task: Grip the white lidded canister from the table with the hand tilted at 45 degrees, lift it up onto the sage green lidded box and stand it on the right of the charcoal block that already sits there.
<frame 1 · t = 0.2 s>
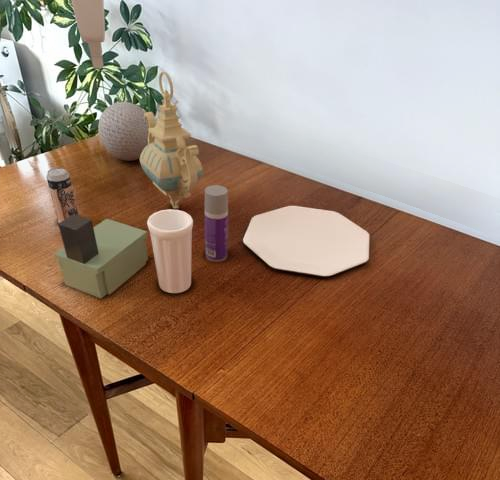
hand: (98, 60, 85), 33 cm above the table, tool pointing down, fingers open, 8 cm apart
sage green lidded box: (108, 271, 93), on the table
plate: (306, 243, 105), on the table
white lidded canister: (69, 222, 107), on the table
container: (216, 256, 100), on the table
decorative ball: (130, 159, 134), on the table
cup: (175, 285, 91), on the table
ornate tan lantern: (174, 209, 114), on the table
block: (83, 255, 85), point 7 cm above the table, touching sage green lidded box
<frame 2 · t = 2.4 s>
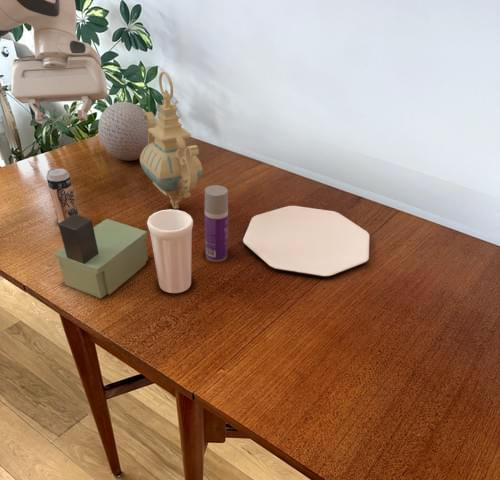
hand: (61, 121, 101), 19 cm above the table, tool tilted 40°, fingers open, 8 cm apart
nothing on the table moved.
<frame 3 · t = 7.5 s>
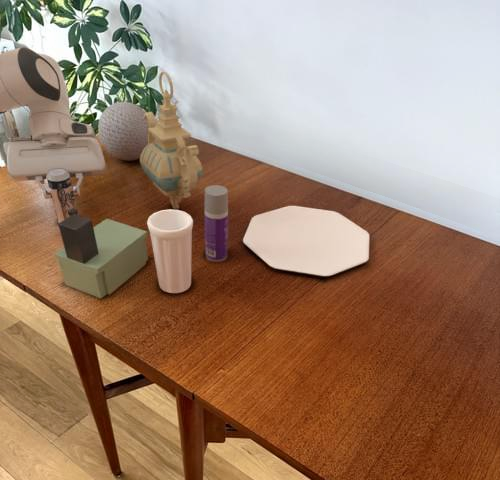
hand: (63, 196, 102), 7 cm above the table, tool tilted 45°, fingers closed on white lidded canister, 5 cm apart
white lidded canister: (69, 222, 107), on the table, touching gripper
everything else where it was.
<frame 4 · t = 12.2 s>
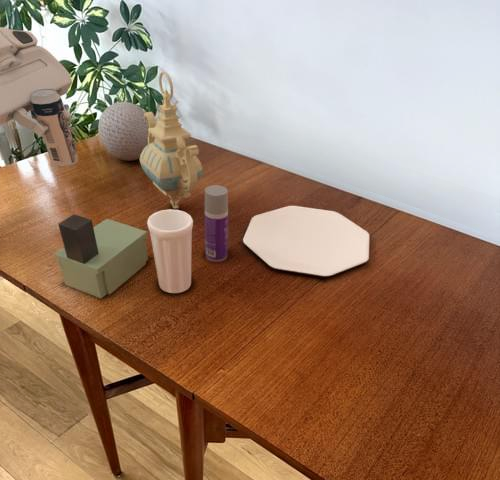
hand: (56, 126, 80), 26 cm above the table, tool tilted 50°, fingers closed on white lidded canister, 5 cm apart
white lidded canister: (65, 164, 85), point 19 cm above the table, touching gripper
everything else where it was.
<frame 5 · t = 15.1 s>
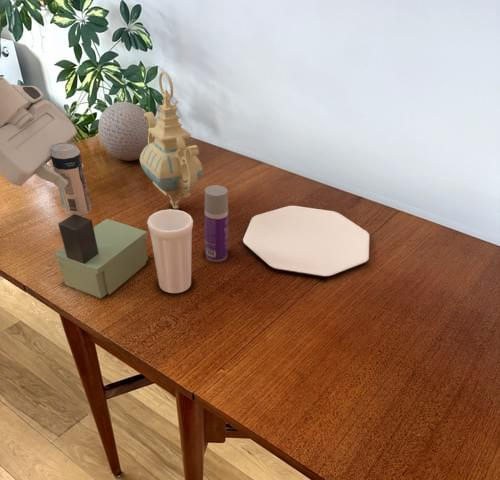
hand: (73, 178, 81), 19 cm above the table, tool tilted 45°, fingers closed on white lidded canister, 5 cm apart
white lidded canister: (78, 212, 86), point 12 cm above the table, touching gripper
everything else where it was.
when the fingers open (13 cm above the table, at t = 17.4 s): white lidded canister stays where it is, resting on sage green lidded box.
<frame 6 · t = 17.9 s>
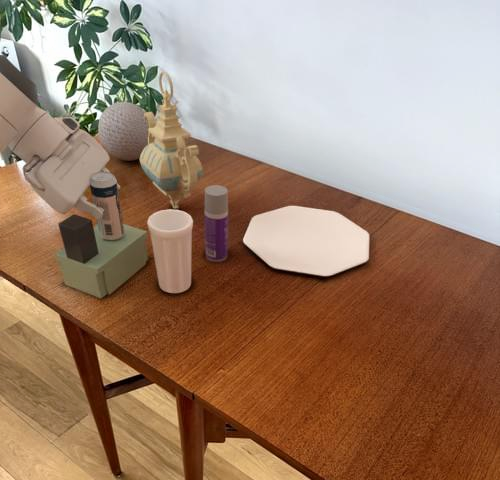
hand: (110, 203, 86), 14 cm above the table, tool tilted 45°, fingers open, 8 cm apart
white lidded canister: (112, 236, 91), point 7 cm above the table, touching sage green lidded box
everything else where it was.
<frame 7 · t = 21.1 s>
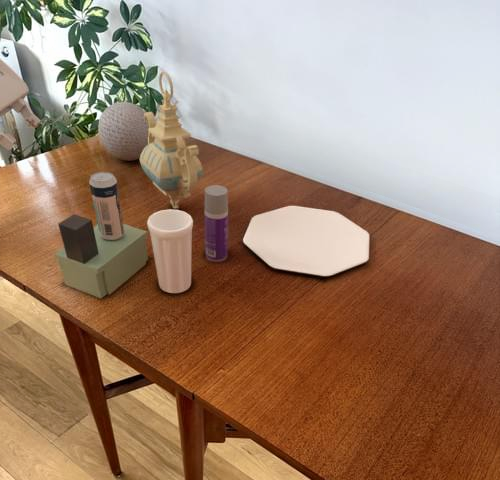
hand: (25, 135, 79), 25 cm above the table, tool tilted 45°, fingers open, 8 cm apart
nothing on the table moved.
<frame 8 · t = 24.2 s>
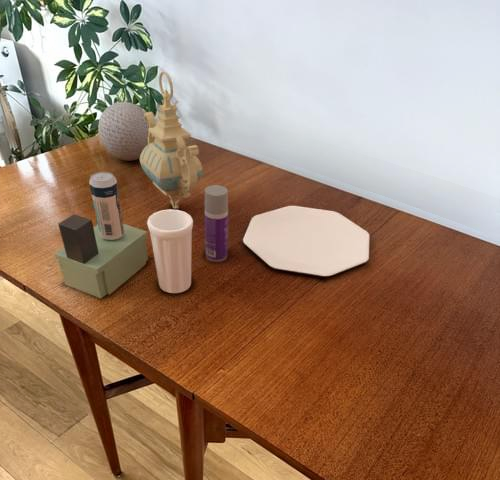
nothing on the table moved.
at the end: white lidded canister inside the target area on the sage green lidded box (0.6 cm from its centre), point 6.8 cm above the sage green lidded box's base; white lidded canister tilted 0°; block moved 0.0 cm from its start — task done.
